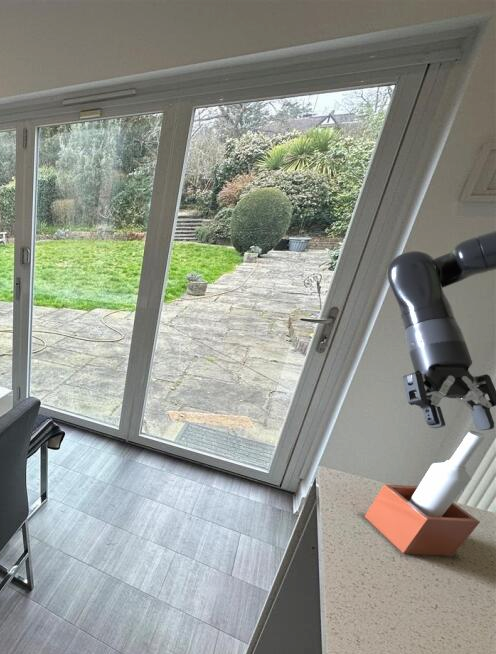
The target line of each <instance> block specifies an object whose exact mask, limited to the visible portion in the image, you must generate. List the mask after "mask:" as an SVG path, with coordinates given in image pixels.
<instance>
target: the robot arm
mask: <svg viewBox="0 0 496 654" xmlns="http://www.w3.org/2000/svg"><path fill="white" fill-rule="evenodd" d="M493 271H496V230H493V231H490V232H488V233H484V234H481V235H478V236H474V237H471V238H469V239H466V240H463V241H461V242H459V243H458V244H456V245H455V246H454V248H453V250H452V251H450V252H448V253H446V254H442V255H440V256H437V257H435V258H434V257H433V255H431V254H429V253H427V252H424V251H417V250H414V251H413V250H412V251H411V250H410V251H407V252H403V253H401V254H399V255H397V256H396V257H395V258H393V259H392V260H391V261H390V262H389V264H388V266H387V269H386V278H387V281H388V284H389V286H390V289H391V292H392V294H393V296H394V298H395V300H396V301H395V302H396V303H397V305H398V306H397V307H398V310H399V316H400V320H401V322H402V326H403V330H404V334H405V335H404V336H405V343H406V347H407V350H408V354H409V357H410V360H411V363H412V367H413V370H414V372H411V373H408V374H406V375H405V374H404V375H403V376H402V381H403V384H404V389H405V390H404V391H405V394H406V395H405V396H406V399H407V403H408V404H409V405H410V406H417V407H418V408H420V409H422V412H423V416H424V420H425V423H426V424H427V425H428V427H429V428H431V429H439V428H445V426H446V421H445V418H444V415H443V412H442V408H441V406H439V404H440V402H441V400H442V399H443V398H448V399H455V400H457V401H458V402H459V403H461V404H462V403H463V404H465V406H467V408H469V409H470V414H471V417H472V420H473V423H474V426H475V429H476V430H477V431H489V430H493V429H494V428H495V421H494V418H493V415H492V412H491V408H493V407H496V388H495V385H494V382H493V380H492V378H491V376H490V375H489V374H482V375H476V376H475V375H474V376H473V375H472V374H471V373H470V371H469V370H470V367H471V366H472V365H473V359H472V358H471V355H470V352H469V348H468V346H467V343H466V340H465V337H464V333H463V331H462V329H461V327H460V326H459V324H458V322H457V320H456V315H455V314H454V310H453V307H452V305H451V302H450V301H449V299H448V297H447V295H446V294H445V292H444V288H446V287H449V286H451V285H454V284H456V283H459V282H461V281H464V280H466V279H468V278H471V277H473V276H476V275H481V274H484V273H488V272H493ZM416 395H417V396H416ZM486 395H487V396H488V399H487V397H486ZM475 401H476V402H477V403H476V402H475Z"/></svg>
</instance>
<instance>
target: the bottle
mask: <svg viewBox="0 0 496 654" xmlns="http://www.w3.org/2000/svg"><path fill="white" fill-rule="evenodd" d="M486 437H487V436H486V435H485V434H484V433H482V432H479V431H476V430H469V431H468V432H467V433H466V435H465V437H463V439H462V442H461V443H460V445H459V446H458V447H457V449H456V450H455V452H454V453H453V454H452V456H451V457H450V459H449V460H448V459H447V460H445V462H433V463H432V464H431V465H430V467H429V468H428V470H427V472H426V473H425V475H424V477H423V478H422V480H421V481H420V483H419V485H417V486H418V488H417V489H416V491H415V492H414V494H413V496H412V497H411V499H410V501H409V502H410V503H411V504H413V505H414V506H415V507H416V508H418V509H419V510H420V511H421V512H423V513H424V514H425V515H426V516H428V517H442V516H443V514H444V513H445V512H446V510H447V509H448V508H449V507H450V505H451V504H452V503H454V502H455V500H456V499H457V498H458V496H459V495H460V494H461V492H463V490H464V489H465V487H467V485H468V484H469V482H470V481H471V479H472V478H471V476H470V474H469V473H468V472H467V471H466V469H467V467H466V465H467V463H469V461H470V460H471V457H472V456H473V454H474V453H475V452H476V450H477V449H478V448H479V447H480V445H482V443H483V442H484V440H485V439H486Z"/></svg>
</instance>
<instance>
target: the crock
mask: <svg viewBox="0 0 496 654" xmlns="http://www.w3.org/2000/svg"><path fill="white" fill-rule="evenodd" d="M418 486H419V485H405V484H403V485H402V484H386V483H385V484H383V486H382V487H381V489H380V490H379V492H378V493H377V495H376V497H375V498H374V500H373V502H372V503H371V505H370V507H368V508H369V509H368V510H367V512H366V513H365V515H364V518H365V519H366V520H367V521H368V522H370V523H371V525H372V526H374V528H376V529H377V530H378V531H379V532H380V533H381V534H382V535H383V536H384V537H385V538H386V539H387V540H388V541H390V542H391V543H392V544H393V546H395V547H396V548H397V549H398V550H399V551H400V552H401V553H402V554H408V555H409V554H410V555H411V554H412V555H413V554H414V555H432V556H449V557H450V556H452V557H453V556H455V554H456V553H457V552H458V551H459V549H460V548H461V547H462V546H463V544H465V542H466V541H467V539H468V538H469V537H470V536H471V534H472V533H473V532H474V531H475V529H476V528H477V527H478V525H479V524H480V523H481V521H480V520H479V519H477V518H476V517H475V516H472V515H471V514H470V513H469V512H467V511H466V510H464V508H462V507H461V506H460V505H457V504H456V503H455V502H453V503H452V504H451V505H450V507H449V508H448V509H447V510H446V512H445V513H444V514H443V516H442V517H428V516H426V515H425V514H424V513H423V512H421V511H420V510H419V509H418V508H416V507H415V506H414V505H413V504H411V503H410V502H409V501H410V499H411V497H412V496H413V494H414V492H415V491H416V489H417V488H418Z"/></svg>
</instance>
